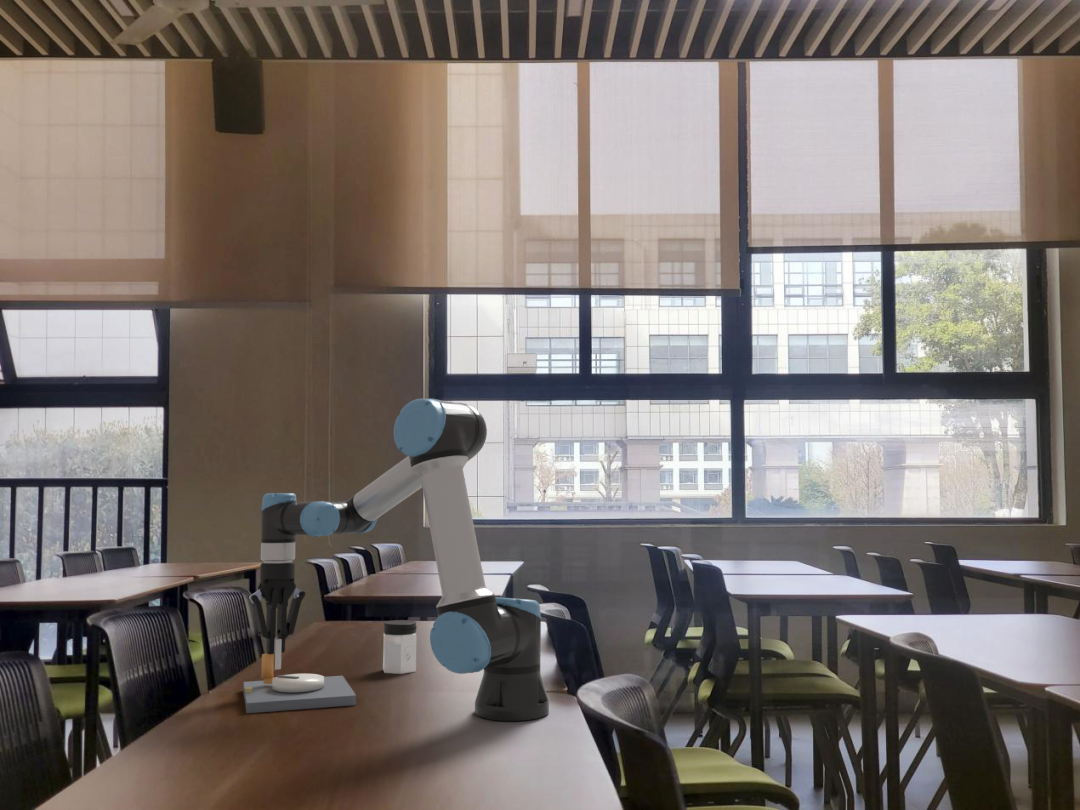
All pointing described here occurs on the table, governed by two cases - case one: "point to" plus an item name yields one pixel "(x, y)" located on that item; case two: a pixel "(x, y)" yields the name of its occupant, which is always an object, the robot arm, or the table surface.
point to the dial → (289, 678)
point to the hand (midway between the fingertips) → (275, 668)
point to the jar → (399, 647)
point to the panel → (297, 696)
